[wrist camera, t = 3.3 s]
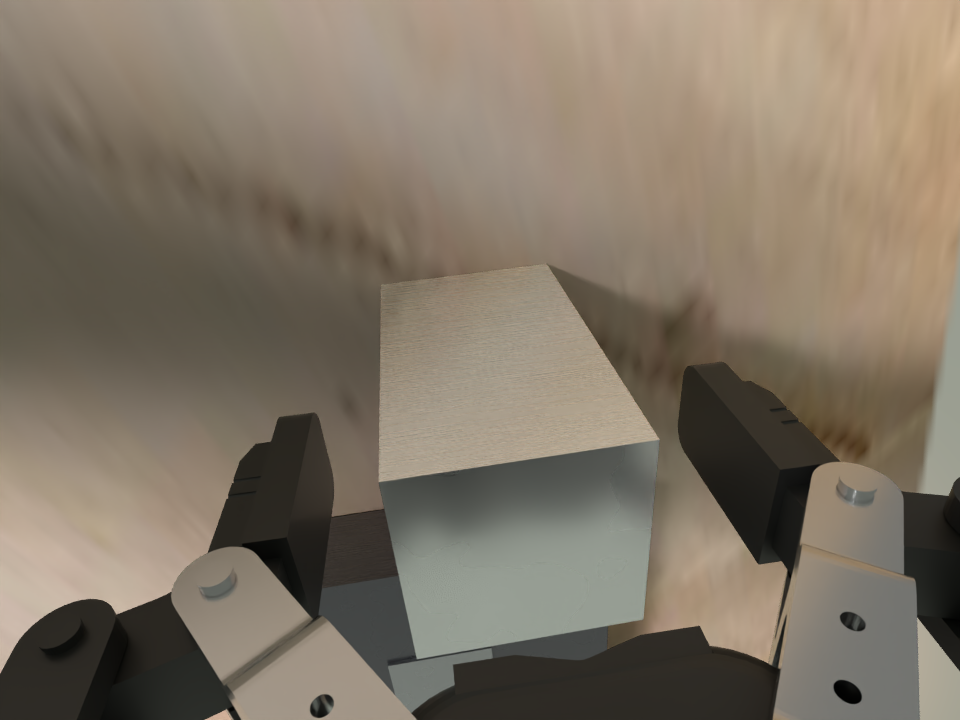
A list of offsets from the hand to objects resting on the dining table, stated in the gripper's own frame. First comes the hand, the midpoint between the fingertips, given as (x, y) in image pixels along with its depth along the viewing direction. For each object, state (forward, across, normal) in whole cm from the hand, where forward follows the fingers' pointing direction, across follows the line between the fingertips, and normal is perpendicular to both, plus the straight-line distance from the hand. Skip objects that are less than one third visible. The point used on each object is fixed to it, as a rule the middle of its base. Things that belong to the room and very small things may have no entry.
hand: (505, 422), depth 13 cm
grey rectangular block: (+3, 0, 0) cm, 3 cm away
